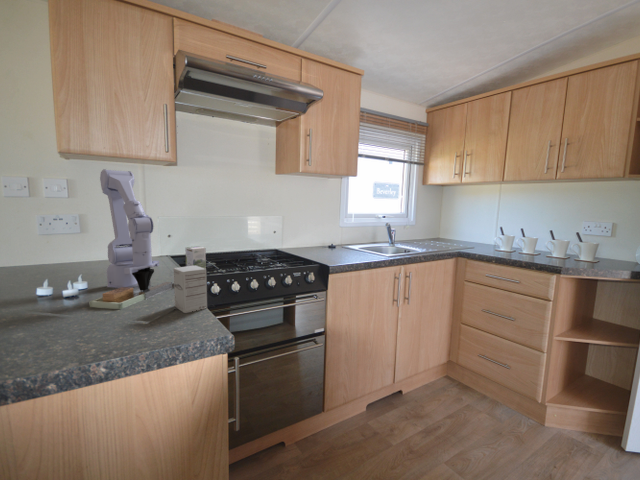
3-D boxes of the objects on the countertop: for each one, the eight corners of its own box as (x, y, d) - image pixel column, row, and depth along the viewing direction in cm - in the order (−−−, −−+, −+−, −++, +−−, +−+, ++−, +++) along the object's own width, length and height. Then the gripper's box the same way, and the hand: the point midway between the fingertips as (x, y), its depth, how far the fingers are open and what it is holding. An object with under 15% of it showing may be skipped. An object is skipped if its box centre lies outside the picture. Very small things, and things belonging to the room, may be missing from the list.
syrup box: (198, 279, 135) (197, 245, 133) (206, 282, 131) (205, 247, 129) (186, 282, 130) (184, 247, 129) (193, 284, 127) (192, 248, 125)
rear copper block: (113, 302, 102) (112, 290, 101) (123, 298, 106) (122, 286, 105) (124, 303, 101) (123, 290, 100) (133, 299, 105) (133, 287, 104)
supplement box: (174, 307, 99) (172, 267, 97) (197, 302, 104) (196, 264, 103) (183, 314, 94) (182, 271, 92) (208, 308, 99) (206, 268, 97)
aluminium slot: (114, 298, 107) (114, 290, 107) (144, 287, 121) (143, 280, 120) (146, 300, 105) (146, 292, 105) (173, 289, 119) (172, 282, 119)
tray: (89, 308, 97) (89, 301, 97) (117, 298, 107) (116, 292, 107) (120, 311, 95) (120, 303, 95) (145, 300, 106) (145, 293, 105)
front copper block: (103, 306, 98) (102, 293, 97) (113, 302, 102) (113, 290, 101) (114, 307, 97) (114, 294, 97) (124, 303, 101) (124, 290, 100)
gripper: (137, 255, 103) (139, 296, 104) (165, 249, 117) (167, 285, 119) (117, 254, 104) (120, 295, 106) (148, 248, 118) (150, 284, 120)
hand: (143, 290), depth 112 cm, fingers closed
